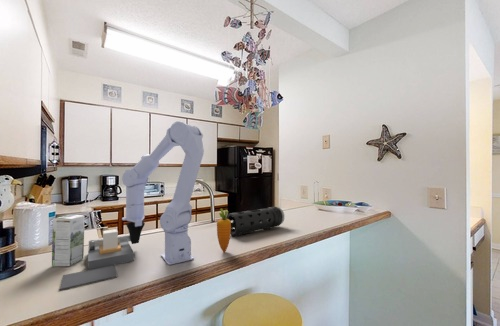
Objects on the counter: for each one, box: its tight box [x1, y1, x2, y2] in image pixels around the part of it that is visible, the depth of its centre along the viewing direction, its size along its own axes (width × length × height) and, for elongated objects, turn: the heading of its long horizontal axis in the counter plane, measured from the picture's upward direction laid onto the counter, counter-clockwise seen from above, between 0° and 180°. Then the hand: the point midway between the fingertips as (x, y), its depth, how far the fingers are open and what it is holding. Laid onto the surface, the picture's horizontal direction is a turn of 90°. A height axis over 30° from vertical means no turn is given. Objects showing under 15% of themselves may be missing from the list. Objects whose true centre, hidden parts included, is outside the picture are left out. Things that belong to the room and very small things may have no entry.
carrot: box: [216, 208, 232, 253], centre depth 81 cm, size 5×5×15 cm
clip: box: [88, 234, 131, 250], centre depth 81 cm, size 2×15×3 cm, turn 125°
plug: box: [99, 228, 121, 254], centre depth 77 cm, size 6×6×8 cm
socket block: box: [87, 241, 135, 270], centre depth 77 cm, size 16×12×2 cm
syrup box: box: [51, 214, 86, 267], centre depth 73 cm, size 6×6×14 cm
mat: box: [59, 265, 118, 291], centre depth 63 cm, size 9×12×1 cm
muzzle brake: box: [226, 206, 285, 237], centre depth 108 cm, size 10×28×10 cm, turn 126°
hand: (135, 243), depth 82 cm, fingers closed
